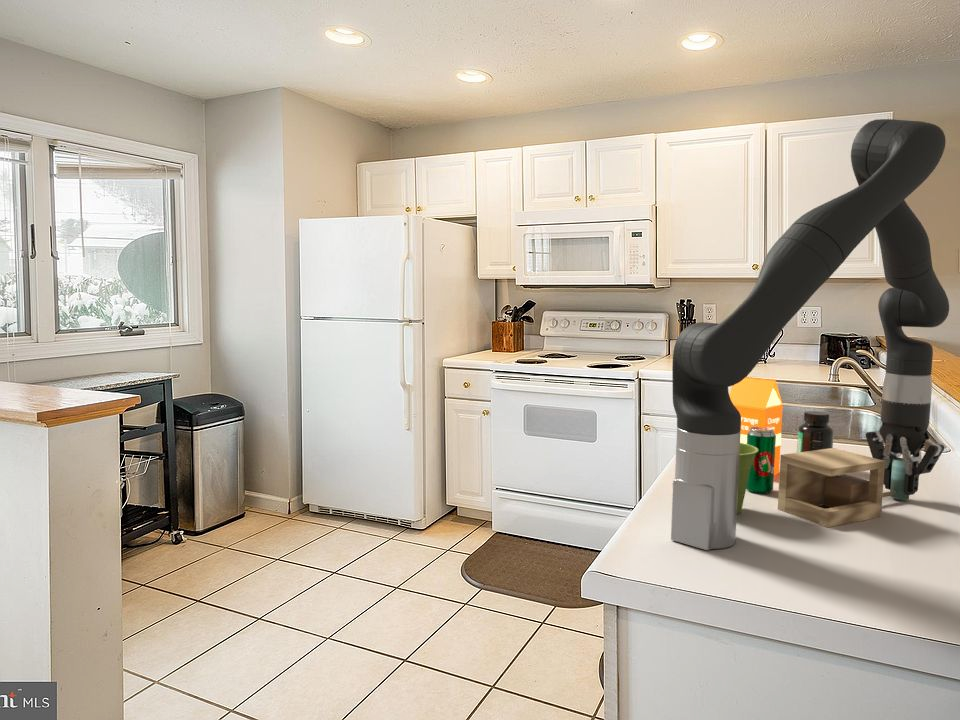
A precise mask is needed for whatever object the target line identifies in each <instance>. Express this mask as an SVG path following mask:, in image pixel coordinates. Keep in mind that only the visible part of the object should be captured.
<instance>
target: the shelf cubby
mask: <svg viewBox="0 0 960 720" xmlns="http://www.w3.org/2000/svg"><path fill="white" fill-rule="evenodd" d="M884 469H885V461H884V460H879V459H875V458H873V457H871V456H866V455H863V454H858V453H855V452H852V451H851V452H850V451H846V450H842V449H838V448H835V447H833V448H829V449H821V450H814V451H806V452H799V453H797V452H793V453H792V452H791V453H785V454H780V464H779V478H778V495H777V497H778V498H777V499H778V500H777V509H778V510H780V511H782V512H784V513H787V514H790V515H792V516H794V517H798V518H800V519H803V520H807V521H809V522H811V523H814V524H816V525H820V526H823V527H825V528H830V527H836V526H837V527H838V526H841V525H845V524H852V523H855V522H856V523H857V522H862V521H865V520H871V519H872V520H873V519H876V518H880V517H881V518H882V511H883V510H882V508H883V498H884V497H883V493H884V484H883V483H884ZM866 471H867V472H868V471H869V480H868V481H869V493H868V501H865V502H860V503H854V504H849V505H843V506H838V507H832V508H831V507H829V508H823V507H820V506H823V505H824V499H825V482H826V478H827V477H833V476H838V475H844V474H846V475H849V474H852V473H854V474H855V473H859V472H860V473H861V472H866ZM824 506H825V505H824Z"/></svg>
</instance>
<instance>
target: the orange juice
mask: <svg viewBox="0 0 960 720" xmlns="http://www.w3.org/2000/svg"><path fill="white" fill-rule="evenodd" d="M780 394H781V393H780V392H779V387H778V384H777V380H776V379H769V378H761V377H754V376H753V377H752V376H746V377H745V378H744V379H743V380H742V381H741V382H739V383H737V384H735V385H733V386H731V388H730V391H729V396H730V399H731V401H732V403H733V404H734V406H735V407H736V408H737V410H738V411H739V412H740V415H741V436H740V443H744V444H747V433H748V432H749V430H750V429H749V428H750V427H767V428H771V429H774V433H775V435H776V445H775V463H774V476H775V475H778V474H780V458H781V446H782V424H783V423H782V421H783V407H784V405H783V401H782V397H781V395H780Z"/></svg>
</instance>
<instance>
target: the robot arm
mask: <svg viewBox="0 0 960 720" xmlns="http://www.w3.org/2000/svg"><path fill="white" fill-rule="evenodd" d="M946 143H947V141H946V135H945V132H944V130H942V128H941V127H940V126H939V125H936V124H933V123H930V122H926V121H920V120H906V119H893V118H882V119H881V118H880V119H879V118H878V119H873V120H870V121H868V122H867V123H865V124H863V126H862V127H861V128H860V129H859V131H858V132H857V133H856V135H855V137H854V139H853V141H852V145H851V150H850V163H851V167H852V171H853V174H854V177H855V179H856V182H857V185H858V186H857V187H855V188H853V189H851V190H850V191H847V192H845V193H843V194H841V195H840V196H837V197H835V198H833V199H831V200H828V201H827V202H825V203H823V204H820V205H818V206H816V207H815V208H813V209H811V210H808V211H807V212H806V213H804V214H802V215H801V216H799V217H798V218H797V219H796V220H795V221H794V222H793V223H792V224H791V225H790V227H789V228H787V230H786V231H785V232H784V233H783V234H782V235H781V236H780V237H779V239H777V240H776V242H775V243H774V244H773V245H772V247H771V248H770V249H769V251H768V252H767V254H766V256H765V257H764V260H763V262H762V265H761V268H760V271H759V274H758V277H757V280H756V282H755V284H754V287H753V289H752V291H751V292H750V293H749V294H748V295H747V297H746V298H745V299H744V300H743V301H742V302H741V304H739V305H738V307H736V308H735V309H734V310H733V312H732V313H730V315H728V316H727V317H726V318H725V319H724V320H722V321H721V322H720V323H714V322H706V321H705V322H704V321H703V322H695V323H692V324H689V325H688V326H686V327H685V328H684V329H683V330H682V331H681V332H680V333H679V335H678V337H677V339H676V340H675V342H674V347H673V352H672V364H671V365H672V366H671V367H672V368H671V369H672V377H671V378H672V380H671V382H672V405H673V410H674V411H675V415H676V443H675V444H676V445H675V464H674V465H675V467H674V471H675V472H674V480H673V481H672V499H671V501H672V502H671V504H672V505H671V529H670V531H671V532H670V540H671V541H675V542H677V543H682V544H684V545H688V546H691V547H694V548H698V549H702V550H705V551H710V550H713V549H724V548H725V549H726V548H729V547H732V546H734V545H735V543H736V536H737V534H736V532H737V520H738V519H737V516H738V515H737V497H738V476H739V455H740V436H741V415H740V412H739V411H738V410H737V408H736V407H735V406H734V404H733V403H732V401H731V399H730V396H729V393H730V391H729V387H732V386H733V385H735V384H737V383H739V382H741V381H742V380H743V379H744V378H745V377H748V376H749V374H750V373H751V372H752V371H753V370H754V369H755V367H756V366H757V365H758V363H759V362H760V360H761V359H762V358H763V356H764V355H765V354H766V352H767V351H768V350H769V348H770V347H771V345H772V344H773V342H774V341H775V339H776V338H777V337H778V336H779V334H780V333H781V331H782V330H783V329H784V328H785V327H786V325H787V324H789V322H790V321H791V320H792V318H794V316H795V315H797V313H798V312H799V311H800V309H802V307H803V306H804V305H805V304H806V303H808V301H809V300H810V298H812V297H813V295H814V294H815V293H816V292H817V291H818V290H819V289H820V287H822V286H823V285H824V284H825V283H826V281H828V279H830V278H831V276H832V275H833V274H834V273H835V272H836V271H837V269H839V268H840V266H842V264H843V263H844V262H845V261H846V260H847V258H848V257H849V256H850V255H851V253H852V252H853V251H854V250H855V249H856V248H857V247H858V246H859V245H860V244H861V242H862V241H863V240H864V239H865V238H866V237H867V236H868V235H869V234H870V233H871V232H872V231H873V230H874V229H875V231H876V232H875V233H876V235H877V239H878V243H879V248H880V254H881V261H882V267H883V273H884V277H885V281H886V282H887V284H888V285H889V286H890V288H888V289H886V290H884V291H883V292H882V294H881V296H880V297H879V300H878V307H877V308H878V314H879V318H880V321H881V325H882V329H883V334H884V339H885V344H886V345H885V346H886V359H885V360H886V361H885V373H884V379H883V383H882V395H881V408H880V409H881V411H880V421H881V422H882V423H881V426H880V427H879V430H873V431H867V432H866V433H865V438H866V441H867V445H868V447H869V450H870V453H871V456H872V457H871V458H875V459H879V460H884V461H885V469H884V483H883V486H884V488H885V489H886V490H889V491H890V487H891V472H892V458H903V461H904V462H905V468H906V473H907V474H905V481H904V494H906V495H909V496H913V495H915V493H917V492H918V490H919V482H920V481H919V479H920V478H919V477H920V475H923V474H928V473H931V472H932V470H933V469H934V467H935V465H936V463H937V462H938V460H939V459H940V457H941V456H942V453H943V452H944V450H945V446H944V444H941V443H939V444H937V443H935V442H934V441H933V440H931V439H930V435H929V433H928V428H929V425H930V421H931V420H930V419H931V407H932V405H931V404H932V391H933V385H932V369H933V368H932V367H933V357H934V356H933V355H934V350H933V349H934V348H933V346H932V344H931V343H929V342H927V341H923V340H919V339H915V338H911V337H909V336H907V334H905V332H904V331H903V327H904V328H905V327H906V328H908V327H909V328H910V327H911V328H914V327H915V328H936V327H938V326H940V325H942V324H943V323H944V322H945V321H946V320H947V318H948V317H949V312H950V301H949V298H948V296H947V293H946V291H945V289H944V288H943V286H942V284H941V282H940V281H939V278H938V277H937V275H936V273H935V271H934V267H933V263H932V262H933V261H932V251H931V244H930V239H929V236H928V233H927V231H926V230H925V227H924V226H923V224H922V222H921V221H920V219H919V218H918V217H917V215H916V214H915V213H914V212H913V210H912V209H911V208H910V206H909V204H908V203H907V202H906V201H905V199H907V198H908V197H909V196H910V195H911V194H912V193H914V191H915V190H916V189H918V188H920V186H921V185H922V184H923V183H924V182H925V181H926V180H927V179H928V178H929V177H930V175H931V174H933V172H934V171H935V169H936V167H937V166H938V164H939V163H940V161H941V159H942V157H943V154H944V152H945V148H946ZM884 444H885V445H884ZM923 448H924V450H923V452H924V454H923V456H922V449H923ZM901 456H902V457H901Z"/></svg>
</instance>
